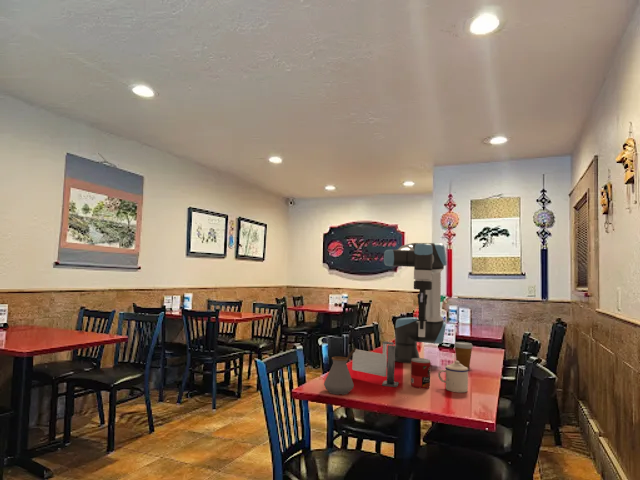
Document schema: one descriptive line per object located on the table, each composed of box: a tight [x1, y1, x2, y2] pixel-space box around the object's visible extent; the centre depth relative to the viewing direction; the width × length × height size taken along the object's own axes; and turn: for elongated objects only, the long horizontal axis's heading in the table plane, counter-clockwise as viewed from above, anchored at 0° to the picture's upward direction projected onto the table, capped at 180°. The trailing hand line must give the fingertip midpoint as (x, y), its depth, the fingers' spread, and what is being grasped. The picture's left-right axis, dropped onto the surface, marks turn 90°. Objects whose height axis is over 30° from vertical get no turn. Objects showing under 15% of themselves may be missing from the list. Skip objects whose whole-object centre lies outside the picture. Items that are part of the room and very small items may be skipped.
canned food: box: [410, 357, 431, 390], centre depth 184 cm, size 8×8×11 cm
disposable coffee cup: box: [453, 341, 474, 368], centre depth 233 cm, size 10×10×12 cm
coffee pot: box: [323, 347, 359, 395], centre depth 175 cm, size 21×12×15 cm, turn 152°
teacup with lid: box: [437, 360, 469, 394], centre depth 182 cm, size 12×9×12 cm
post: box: [381, 344, 400, 388], centre depth 185 cm, size 6×6×16 cm
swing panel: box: [351, 340, 395, 378], centre depth 192 cm, size 20×2×14 cm, turn 49°
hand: (421, 336), depth 186 cm, fingers closed
